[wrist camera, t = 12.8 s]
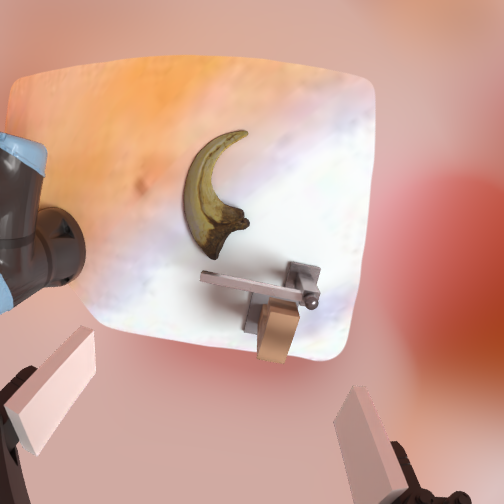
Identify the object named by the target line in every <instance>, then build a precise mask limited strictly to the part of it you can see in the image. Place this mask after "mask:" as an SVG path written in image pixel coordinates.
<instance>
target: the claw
mask: <svg viewBox="0 0 504 504" xmlns="http://www.w3.org/2000/svg"><path fill="white" fill-rule="evenodd" d="M247 135H248V132H247V131H237V132H231V133H229V134H225V135H222V136H220V137H218V138H216V139H214V140H213V141H211V142H210V143H208V144H207V145H206V146H205V147H204V148H203V149H202V150H201V151H200V152H199V153H198V154H197V156H196V158H195V160H194V161H193V163H192V165H191V167H190V170H189V173H188V175H187V180H186V185H185V191H184V208H185V214H186V219H187V222H188V225H189V228H190V230H191V233H192V235H193V237H194V239H195V240H196V242H197V243H198V245H199V246H200V248H201V249H202V250H203V251H204V252H205V254H206V255H207V256H208V257H209V258H210V259H212V260H216V259H218V256H219V253H220V251H221V249H222V247H223V244H224V242H225V240H226V238H227V237H228V236H229V234H230V233H231V232H234V231H236V230H244V229H246V228H247V227H249V225H250V222H249V220H248V219H247V218H244V211H243V210H242V209H239V208H233V207H230V206H228V205H225V204H224V203H223V202H222V201H220V200H219V198H218V197H217V195H216V193H215V192H214V190H213V187H212V184H211V175H212V171H213V167H214V164H215V162H216V161H217V159H218V158H219V156H220V155H221V154H222V152H223V151H224V150H225V149H227V148H228V147H229V146H230V145H232V144H233V143H235V142H237V141H238V140H240V139H242V138H244V137H245V136H247Z"/></svg>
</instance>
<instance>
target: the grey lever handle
mask: <svg viewBox="0 0 504 504" xmlns="http://www.w3.org/2000/svg"><path fill="white" fill-rule="evenodd" d="M320 270H321V268H319V267H314V266H309V265H305V264H300V263H295V262H291V265H290V269H289V273H288V277H287V280H286V284H285V287H281V286H276V285H271V284H266V283H261V282H256V281H251V280H246V279H241V278H237V277H232V276H227V275H222V274H218V273H213V272H208V271H204V270H203V271H202V272H201V277H200V281H202V282H207V283H211V284H216V285H221V286H225V287H230V288H235V289H240V290H244V291H249V292H254V293H259V294H264V295H269V296H274V297H280V298H285V299H290V300H295V301H299V305H301V306H306V308H307V309H309V310H313V309H315V308H317V306H318V300H319V296H320V291H319V289H318V287H317V285H316V284H317V281H318V277H319V274H320Z"/></svg>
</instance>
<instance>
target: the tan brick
mask: <svg viewBox="0 0 504 504" xmlns="http://www.w3.org/2000/svg"><path fill="white" fill-rule="evenodd" d="M299 319H300V316H299V312H298V309H297V305H296V302H291V301H287V300H282V299H277V298H272V297H269V301H268V305H266V304H263V306H262V309H261V313H260V317H259V320H258V325H257V359H259V360H265V361H270V362H276V363H281V364H284V363H285V360H286V357H287V354H288V351H289V348H290V346H291V343H292V340H293V337H294V334H295V331H296V328H297V325H298V322H299Z"/></svg>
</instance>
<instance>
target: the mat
mask: <svg viewBox="0 0 504 504" xmlns="http://www.w3.org/2000/svg"><path fill="white" fill-rule="evenodd" d="M269 297H272V298H277V299H282V300H287V301H291V302H296V305H297V309H298V305H299V301H295V300H290V299H285V298H280V297H274V296H269V295H264V294H259V293H254V292H253V294H252V299H251V303H250V307H249V312H248V316H247V320H246V325H245V329H244V332H245V333H251V334H256V335H257V325H258V320H259V317H260V313H261V309H262V306H263V304H266V305H268V301H269Z"/></svg>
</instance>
